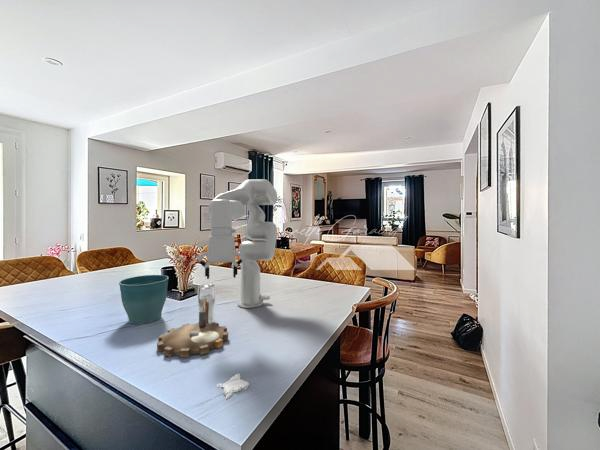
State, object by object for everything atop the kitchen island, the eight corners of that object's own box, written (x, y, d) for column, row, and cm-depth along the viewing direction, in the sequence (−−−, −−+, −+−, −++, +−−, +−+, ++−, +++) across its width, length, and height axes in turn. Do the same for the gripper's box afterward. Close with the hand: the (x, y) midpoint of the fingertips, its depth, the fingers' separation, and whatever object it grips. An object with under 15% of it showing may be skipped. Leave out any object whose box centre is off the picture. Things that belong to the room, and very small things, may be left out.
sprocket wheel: (227, 324, 109) (227, 305, 108) (229, 351, 87) (229, 328, 87) (164, 330, 102) (164, 310, 102) (149, 362, 80) (149, 336, 80)
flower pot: (133, 331, 102) (133, 287, 101) (110, 321, 112) (110, 280, 111) (177, 317, 117) (177, 278, 117) (154, 309, 127) (153, 273, 126)
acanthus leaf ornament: (238, 377, 75) (238, 370, 75) (252, 389, 70) (252, 381, 70) (212, 388, 69) (212, 381, 69) (226, 402, 64) (226, 394, 64)
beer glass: (218, 319, 114) (218, 284, 114) (208, 326, 108) (208, 288, 107) (205, 317, 117) (205, 283, 116) (193, 323, 110) (193, 287, 110)
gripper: (243, 231, 109) (243, 274, 109) (197, 232, 104) (197, 276, 104) (245, 232, 101) (245, 278, 102) (196, 233, 96) (196, 281, 97)
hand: (221, 277), depth 103 cm, fingers open, 9 cm apart
